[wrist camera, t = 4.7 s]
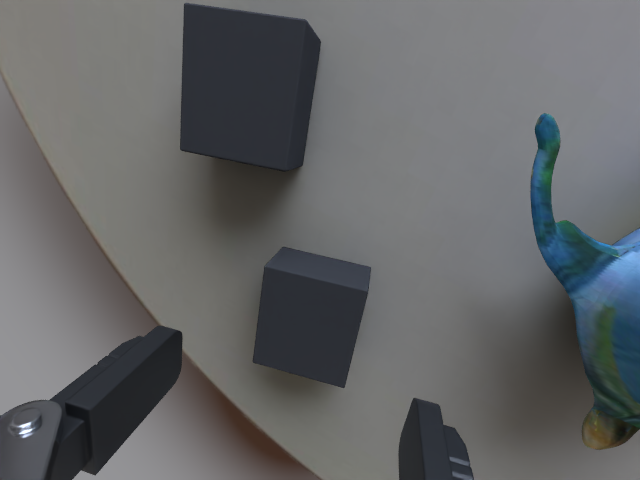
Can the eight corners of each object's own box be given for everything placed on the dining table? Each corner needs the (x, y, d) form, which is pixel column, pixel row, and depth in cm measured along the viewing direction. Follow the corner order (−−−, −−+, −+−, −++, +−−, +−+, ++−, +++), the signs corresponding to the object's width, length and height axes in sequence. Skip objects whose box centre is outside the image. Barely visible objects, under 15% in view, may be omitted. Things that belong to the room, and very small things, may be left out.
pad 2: (270, 331, 18) (252, 362, 15) (282, 246, 16) (264, 265, 14) (350, 353, 17) (344, 388, 15) (371, 266, 16) (368, 291, 13)
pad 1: (212, 148, 15) (179, 150, 13) (219, 25, 14) (183, 1, 11) (302, 166, 15) (286, 172, 12) (321, 40, 13) (306, 18, 11)
